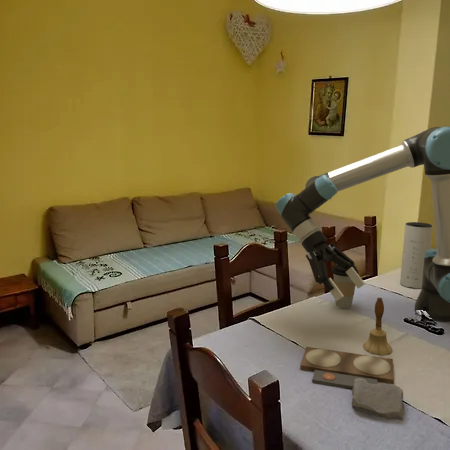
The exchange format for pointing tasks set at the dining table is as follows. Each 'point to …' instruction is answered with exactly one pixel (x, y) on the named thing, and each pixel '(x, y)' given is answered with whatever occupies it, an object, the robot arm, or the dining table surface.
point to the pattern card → (338, 379)
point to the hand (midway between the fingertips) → (351, 292)
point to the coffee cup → (344, 286)
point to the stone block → (378, 399)
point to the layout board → (348, 364)
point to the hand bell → (378, 334)
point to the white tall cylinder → (415, 253)
